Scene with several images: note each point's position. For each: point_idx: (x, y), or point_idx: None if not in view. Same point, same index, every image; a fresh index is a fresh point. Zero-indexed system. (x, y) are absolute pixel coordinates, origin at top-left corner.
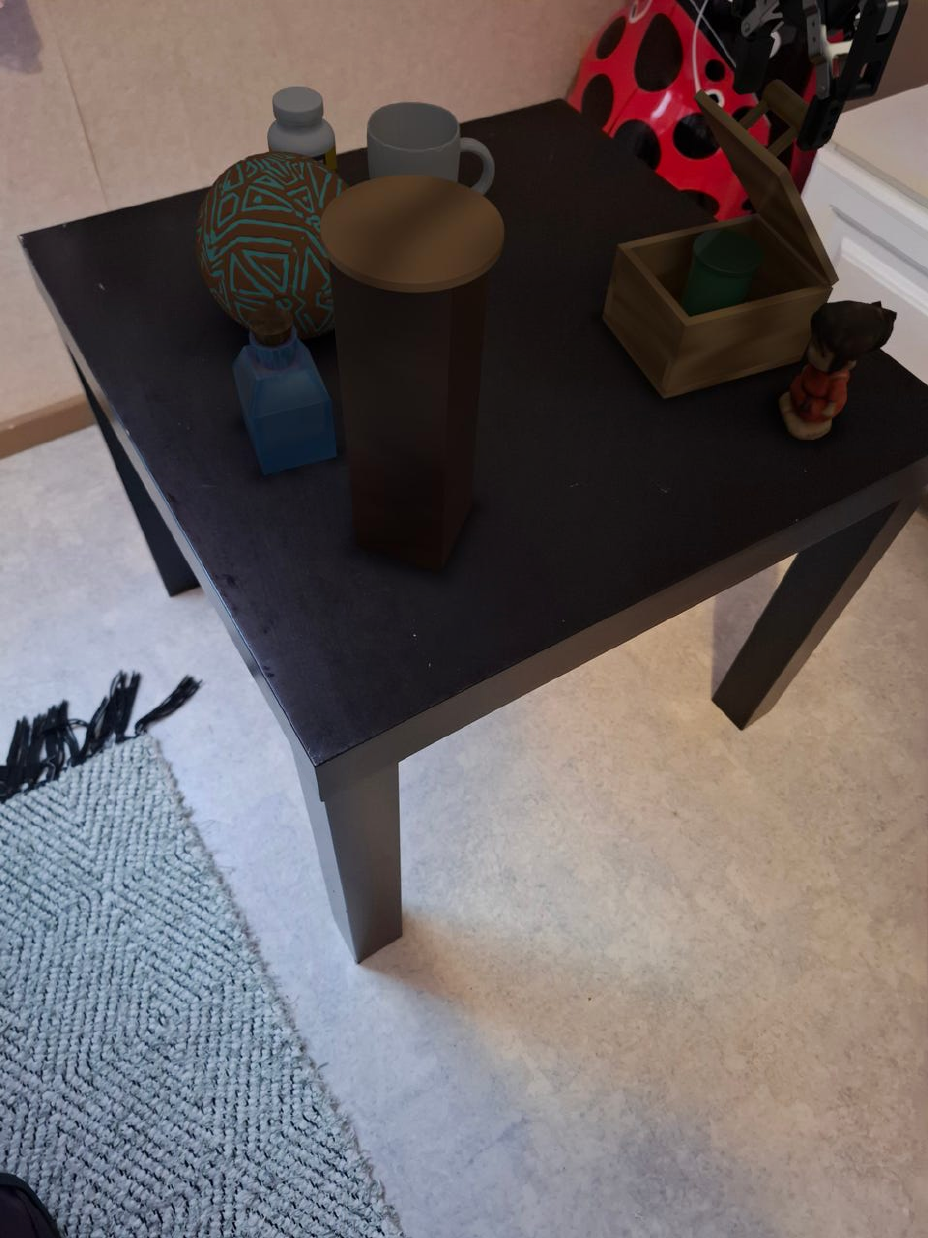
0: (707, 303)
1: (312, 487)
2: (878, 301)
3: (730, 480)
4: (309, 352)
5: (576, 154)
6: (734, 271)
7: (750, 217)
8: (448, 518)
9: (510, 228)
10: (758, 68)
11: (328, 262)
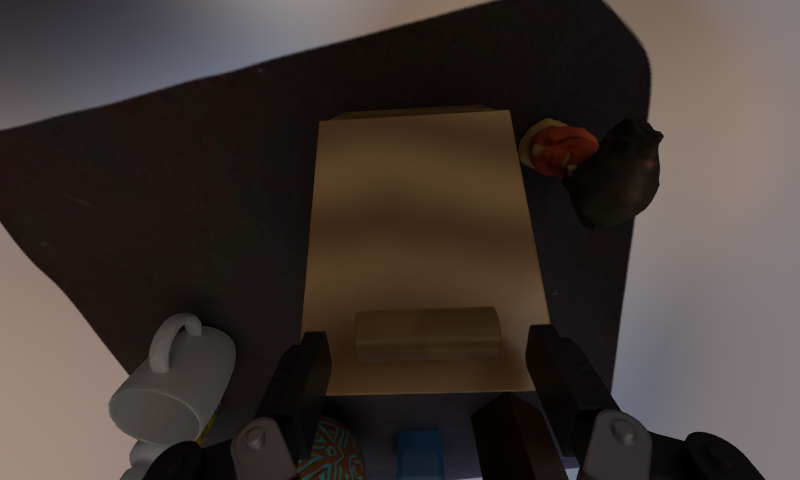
0: None
1: (456, 441)
2: (629, 146)
3: (574, 247)
4: (400, 477)
5: (70, 171)
6: None
7: None
8: (550, 445)
9: (220, 282)
10: (317, 377)
11: None
